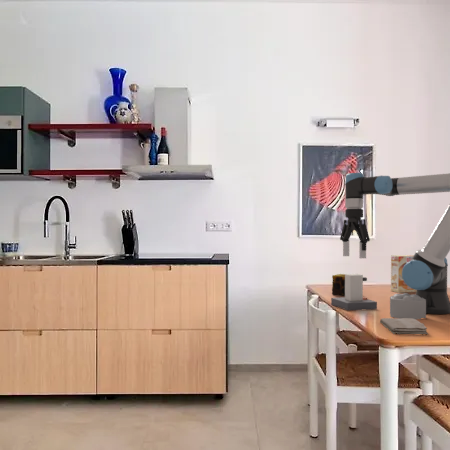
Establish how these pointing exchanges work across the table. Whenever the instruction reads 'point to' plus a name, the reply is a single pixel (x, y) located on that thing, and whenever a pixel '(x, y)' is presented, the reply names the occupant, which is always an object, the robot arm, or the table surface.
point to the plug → (354, 287)
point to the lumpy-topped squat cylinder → (407, 306)
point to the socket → (353, 304)
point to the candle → (338, 284)
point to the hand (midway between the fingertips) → (354, 257)
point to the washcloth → (404, 326)
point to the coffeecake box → (399, 273)
